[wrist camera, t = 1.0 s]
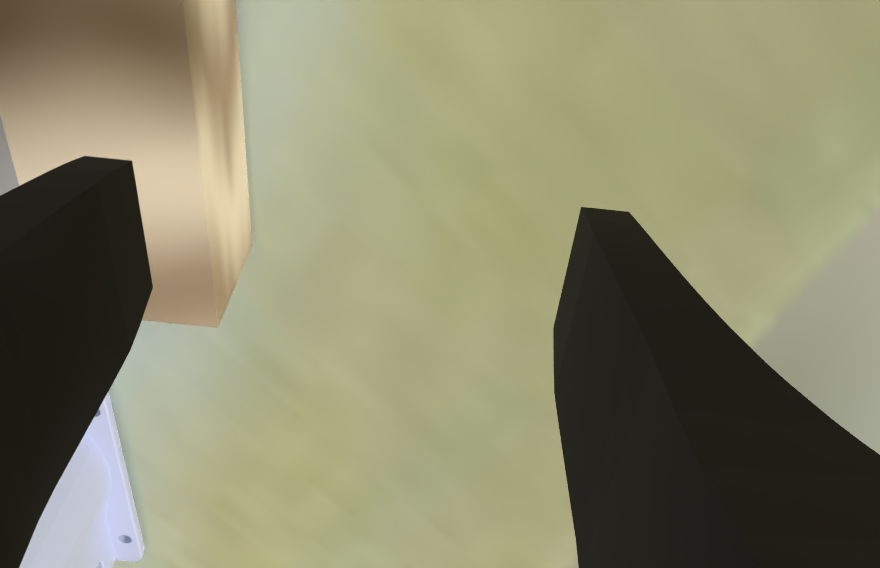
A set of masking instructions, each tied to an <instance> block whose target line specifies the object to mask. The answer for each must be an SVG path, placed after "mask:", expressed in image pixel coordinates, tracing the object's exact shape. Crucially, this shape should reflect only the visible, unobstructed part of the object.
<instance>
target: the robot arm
mask: <svg viewBox="0 0 880 568" xmlns="http://www.w3.org/2000/svg"><path fill="white" fill-rule="evenodd" d="M152 289H153V284H152V278H151V272H150V266H149V260H148V254H147V248H146V242H145V236H144V230H143V224H142V217H141V211H140V205H139V199H138V193H137V187H136V181H135V175H134V169H133V163H132V161H130V160H120V159H111V158H101V157H91V156H83V157H80V158H78V159H75V160H72V161H70V162H68V163H65V164H63V165H61V166H59V167H57V168H54V169H52V170H50V171H48V172H46V173H44V174H42V175H40V176H38V177H36V178H34V179H32V180H30V181H28V182H26V183H24V184H22V185H20V186H18V187H16V188H14V189H12V190H10V191H8V192H6V193H4V194H3V195H1V196H0V568H112V567H113V565H114V562H115V560H121V561H137V560H140V559H141V558H142V556H143V553H144V551H145V547H144V542H143V538H142V534H141V530H140V525H139V521H138V517H137V512H136V508H135V504H134V499H133V495H132V491H131V486H130V482H129V478H128V473H127V469H126V465H125V460H124V456H123V452H122V447H121V443H120V439H119V434H118V430H117V426H116V421H115V417H114V413H113V408H112V404H111V400H110V395H109V393H108V391H109V389H110V387H111V385H112V384H113V382H114V380H115V378H116V376H117V374H118V372H119V371H120V369H121V367H122V365H123V363H124V361H125V359H126V357H127V355H128V353H129V352H130V349H131V347H132V344H133V342H134V339H135V336H136V334H137V331H138V329H139V326H140V323H141V321H142V318H143V315H144V312H145V309H146V306H147V303H148V301H149V298H150V295H151V292H152ZM554 393H555V401H556V408H557V415H558V422H559V429H560V436H561V443H562V450H563V456H564V463H565V470H566V476H567V483H568V490H569V496H570V503H571V510H572V516H573V523H574V530H575V536H576V544H577V554H578V564H579V568H880V455H879V454H878V453H876V452H875V451H874V450H872V449H871V448H869V447H868V446H866V445H865V444H864V443H862V442H861V441H859V440H858V439H857V438H856V437H854V436H853V435H852V434H850V433H849V432H848V431H847V430H845V429H844V428H843V427H841V426H840V425H839V424H837V423H836V422H835V421H834V420H832V419H831V418H830V417H829V416H827V415H826V414H825V413H824V412H823V411H821V410H820V409H819V408H818V407H817V406H815V405H814V404H813V403H812V402H811V401H809V400H808V399H807V398H806V397H804V396H803V395H802V394H801V393H800V392H798V391H797V390H796V389H795V388H794V387H792V386H791V385H790V384H789V383H788V382H787V381H786V380H784V379H783V378H782V377H781V376H780V375H779V374H778V373H776V371H774V370H773V369H772V368H771V367H770V366H769V365H768V364H767V363H765V361H764V360H762V358H760V357H759V356H758V355H757V354H756V353H755V352H754V351H753V350H752V349H751V348H750V347H749V346H748V345H747V344H746V343H745V342H744V341H743V340H742V339H741V338H740V337H739V336H738V335H737V334H736V333H735V332H734V331H733V330H732V329H731V328H730V327H729V326H728V325H727V324H726V323H725V322H724V321H723V320H722V319H721V318H720V316H719V315H718V314H717V313H716V312H715V311H714V310H713V309H712V308H711V307H710V306H709V305H708V304H707V303H706V301H705V300H704V299H703V298H702V297H701V296H700V295H699V294H698V293H697V291H696V290H695V289H694V288H693V287H692V286H691V285H690V284H689V282H688V281H687V280H686V279H685V278H684V277H683V275H682V274H681V273H680V272H679V271H678V270H677V269H676V267H675V266H674V265H673V264H672V263H671V261H670V260H669V259H668V258H667V257H666V255H665V254H664V253H663V252H662V251H661V250H660V248H659V247H658V246H657V245H656V243H655V242H654V241H653V240H652V239H651V237H650V236H649V235H648V234H647V233H646V231H645V230H644V229H643V228H642V227H641V225H640V224H639V223H638V222H637V221H636V220H635V218H634V217H633V216H632V215H631V214H630V213H629V212H625V211H615V210H605V209H596V208H586V207H581V211H580V215H579V219H578V224H577V228H576V232H575V237H574V241H573V245H572V250H571V254H570V258H569V263H568V267H567V271H566V276H565V280H564V285H563V289H562V293H561V298H560V302H559V306H558V311H557V315H556V319H555V324H554Z"/></svg>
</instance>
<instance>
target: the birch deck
mask: <svg viewBox="0 0 880 568" xmlns="http://www.w3.org/2000/svg"><path fill="white" fill-rule="evenodd" d="M0 116H1V119H2V123H3V127H4V131H5V134H6V138H7V142H8V146H9V149H10V153H11V157H12V161H13V164H14V168H15V172H16V175H17V179H18V183H19V186H20V185H22V184H24V183H26V182H28V181H30V180H32V179H34V178H36V177H38V176H40V175H42V174H44V173H46V172H48V171H50V170H52V169H54V168H57V167H59V166H61V165H63V164H65V163H68V162H70V161H72V160H75V159H78V158H80V157H83V156H91V157H101V158H111V159H120V160H130V161H132V163H133V169H134V175H135V181H136V187H137V193H138V199H139V205H140V211H141V217H142V224H143V230H144V236H145V242H146V248H147V254H148V260H149V266H150V272H151V278H152V284H153V289H152V292H151V295H150V298H149V301H148V303H147V306H146V309H145V312H144V315H143V318H142V320H145V321H155V322H165V323H175V324H185V325H195V326H205V327H215V328H218V326H219V324H220V321H221V319H222V316H223V314H224V312H225V309H226V307H227V304H228V302H229V300H230V297H231V295H232V292H233V290H234V288H235V285H236V283H237V280H238V278H239V276H240V273H241V271H242V269H243V266H244V264H245V261H246V259H247V257H248V254H249V252H250V249H251V247H252V238H251V223H250V208H249V193H248V178H247V163H246V148H245V133H244V119H243V104H242V89H241V74H240V59H239V44H238V29H237V14H236V0H0Z"/></svg>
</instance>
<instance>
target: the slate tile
mask: <svg viewBox="0 0 880 568" xmlns="http://www.w3.org/2000/svg"><path fill="white" fill-rule="evenodd" d="M18 186H19V183H18V179H17V175H16V172H15V168H14V164H13V161H12V157H11V153H10V149H9V146H8V142H7V138H6V134H5V131H4V127H3V123H2V119H1V116H0V196H1V195H3V194H4V193H6V192H8V191H10V190H12V189H14V188H16V187H18Z"/></svg>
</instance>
